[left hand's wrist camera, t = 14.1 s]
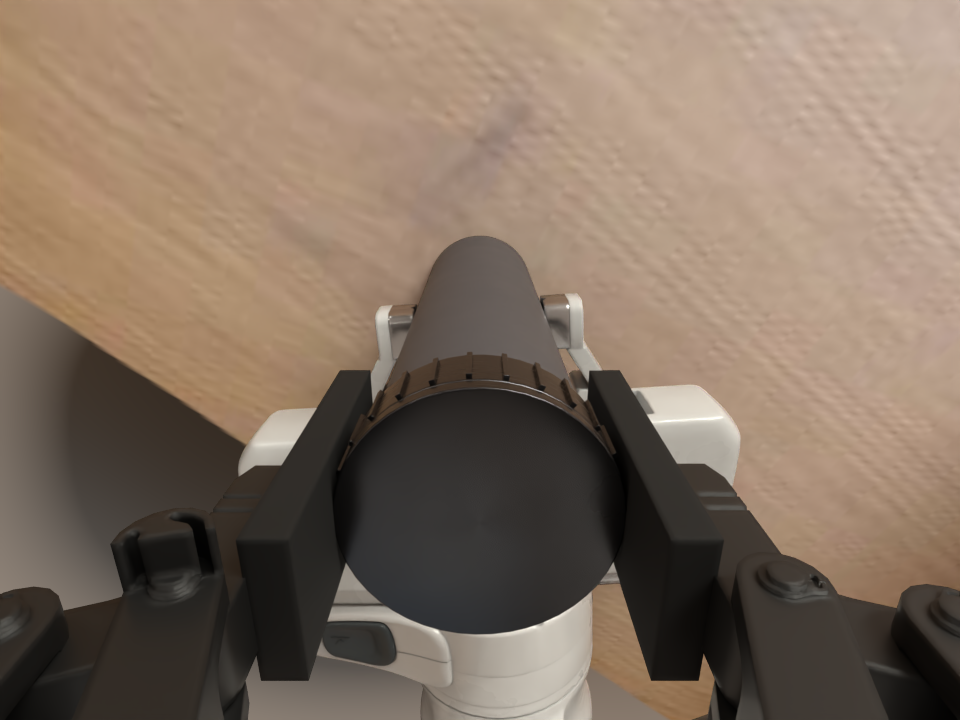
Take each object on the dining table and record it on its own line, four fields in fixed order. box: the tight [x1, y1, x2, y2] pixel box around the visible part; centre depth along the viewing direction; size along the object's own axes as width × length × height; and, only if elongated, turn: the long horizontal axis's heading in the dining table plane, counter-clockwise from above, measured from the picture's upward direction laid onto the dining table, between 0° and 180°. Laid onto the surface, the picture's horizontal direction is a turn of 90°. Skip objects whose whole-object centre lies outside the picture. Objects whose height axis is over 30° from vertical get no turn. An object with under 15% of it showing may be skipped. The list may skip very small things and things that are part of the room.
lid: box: [333, 352, 627, 635], centre depth 11 cm, size 6×6×2 cm
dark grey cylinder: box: [386, 236, 574, 390], centre depth 20 cm, size 5×5×18 cm
